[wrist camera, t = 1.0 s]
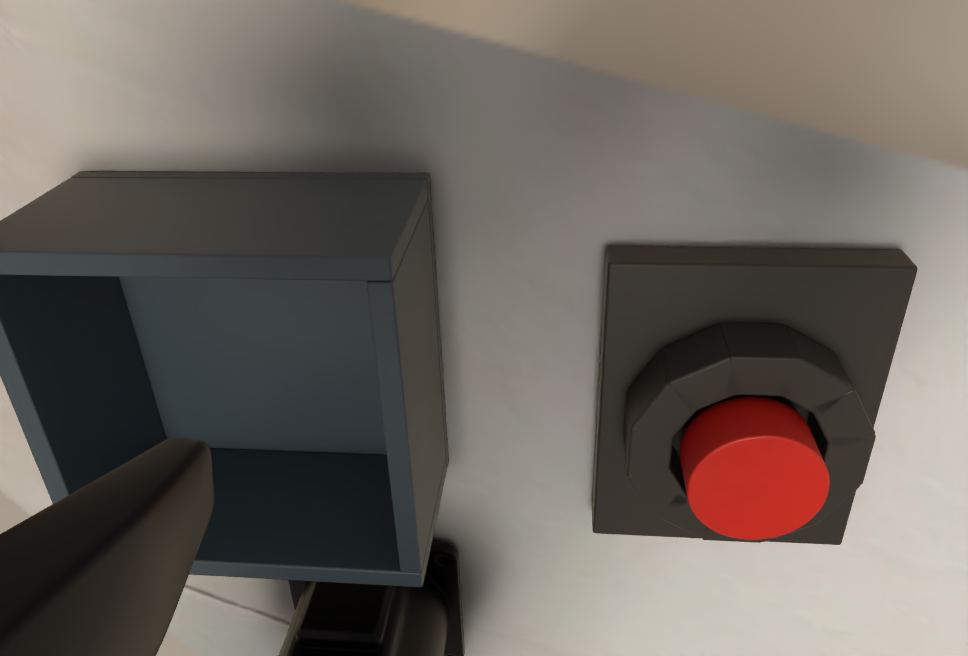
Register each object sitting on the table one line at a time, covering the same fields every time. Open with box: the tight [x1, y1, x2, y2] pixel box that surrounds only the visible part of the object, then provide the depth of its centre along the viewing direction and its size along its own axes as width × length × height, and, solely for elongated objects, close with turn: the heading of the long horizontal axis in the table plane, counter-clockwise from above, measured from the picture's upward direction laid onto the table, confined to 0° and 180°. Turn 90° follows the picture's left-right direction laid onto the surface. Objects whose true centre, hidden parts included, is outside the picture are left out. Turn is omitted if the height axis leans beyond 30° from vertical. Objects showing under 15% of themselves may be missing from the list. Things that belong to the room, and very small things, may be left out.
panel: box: [592, 246, 917, 545], centre depth 23 cm, size 10×8×3 cm
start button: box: [680, 397, 830, 540], centre depth 21 cm, size 4×4×2 cm
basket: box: [0, 172, 449, 587], centre depth 22 cm, size 10×10×6 cm
